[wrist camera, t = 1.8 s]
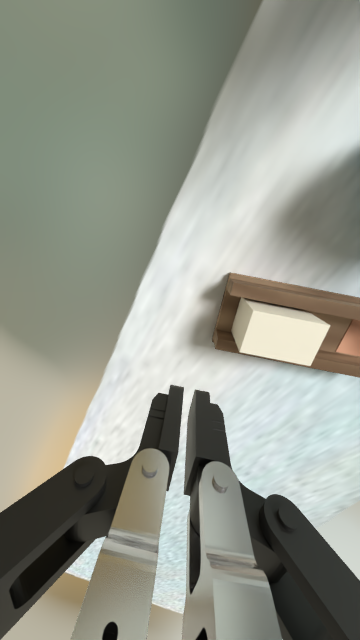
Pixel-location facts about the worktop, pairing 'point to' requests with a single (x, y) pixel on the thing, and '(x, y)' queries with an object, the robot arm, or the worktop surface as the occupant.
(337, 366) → the walnut chute
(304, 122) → the worktop surface
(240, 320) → the sand block
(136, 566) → the robot arm
